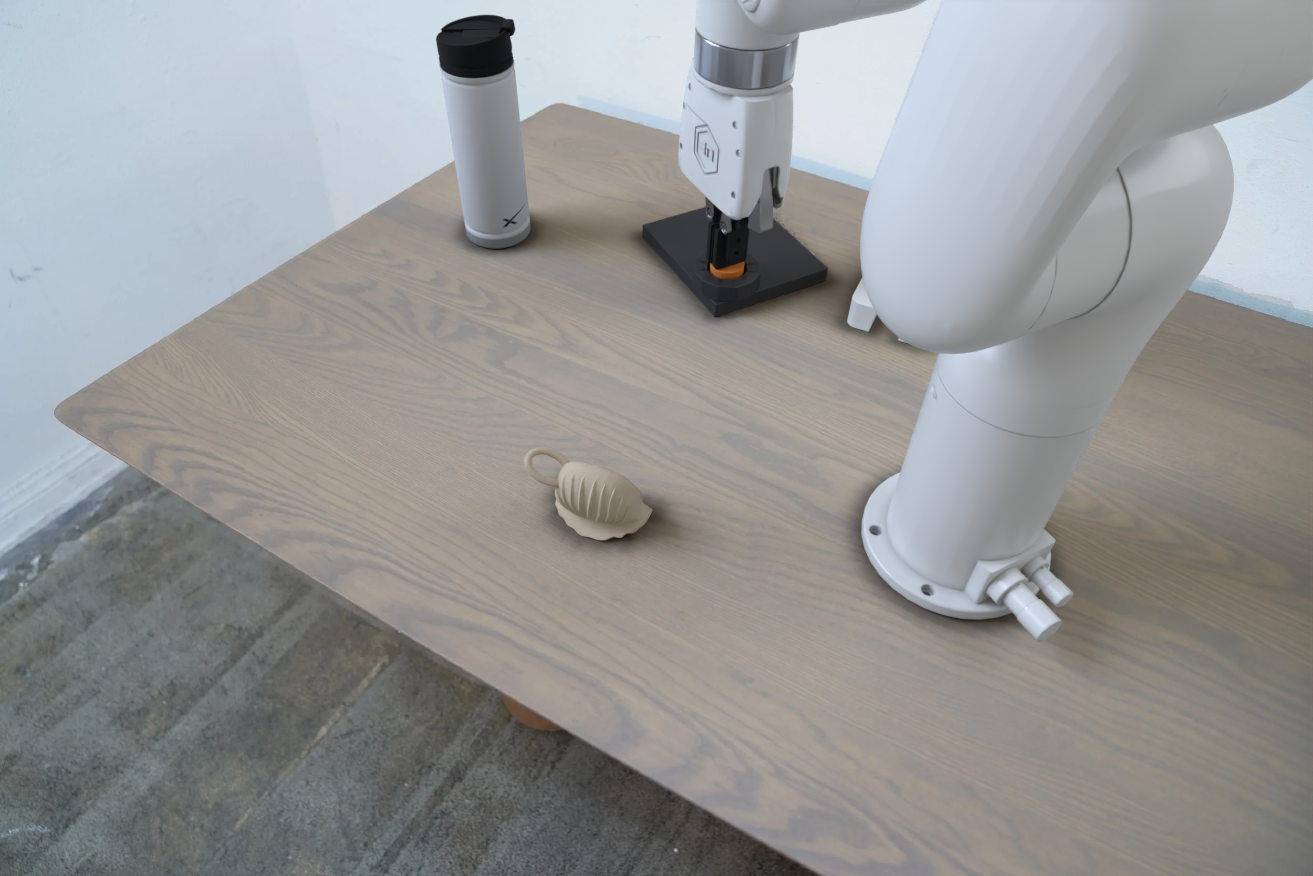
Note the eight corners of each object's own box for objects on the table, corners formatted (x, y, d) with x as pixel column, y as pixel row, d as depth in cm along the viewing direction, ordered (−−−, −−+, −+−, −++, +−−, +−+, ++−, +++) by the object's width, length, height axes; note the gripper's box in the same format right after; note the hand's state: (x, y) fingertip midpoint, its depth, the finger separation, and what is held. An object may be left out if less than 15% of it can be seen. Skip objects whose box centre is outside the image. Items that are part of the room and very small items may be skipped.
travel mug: (530, 250, 86) (508, 38, 71) (461, 249, 86) (425, 36, 71) (537, 214, 90) (518, 8, 76) (472, 213, 90) (440, 6, 76)
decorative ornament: (631, 554, 61) (630, 504, 58) (523, 514, 64) (516, 464, 60) (654, 512, 64) (656, 461, 60) (551, 475, 66) (545, 424, 62)
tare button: (749, 283, 80) (750, 267, 79) (720, 292, 79) (721, 276, 78) (731, 265, 82) (733, 249, 81) (703, 274, 81) (704, 258, 80)
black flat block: (829, 283, 83) (834, 256, 81) (713, 321, 79) (715, 294, 77) (746, 206, 92) (749, 180, 90) (638, 237, 88) (638, 211, 85)
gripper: (652, 25, 69) (649, 228, 83) (756, 108, 60) (733, 321, 74) (735, 8, 72) (719, 208, 85) (847, 86, 63) (809, 296, 76)
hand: (725, 260), depth 79 cm, fingers closed
